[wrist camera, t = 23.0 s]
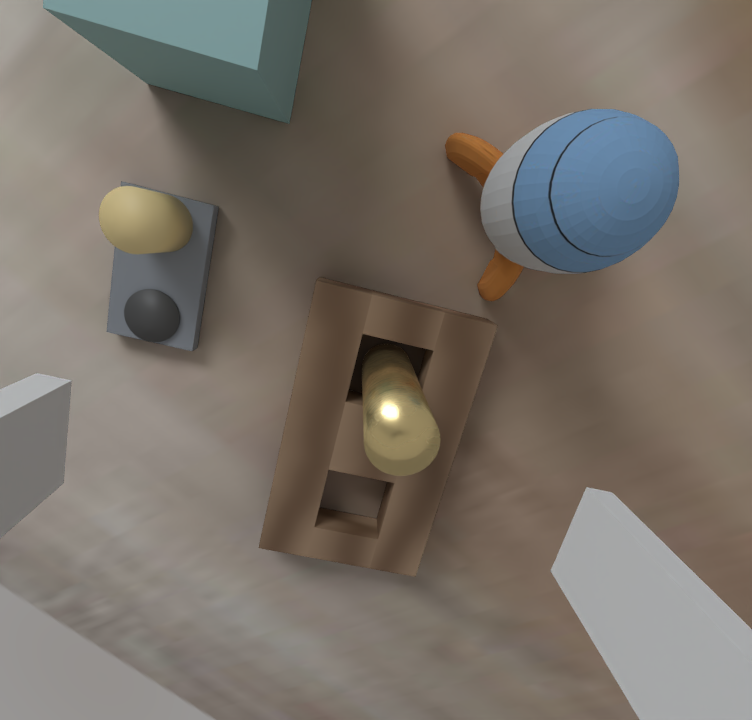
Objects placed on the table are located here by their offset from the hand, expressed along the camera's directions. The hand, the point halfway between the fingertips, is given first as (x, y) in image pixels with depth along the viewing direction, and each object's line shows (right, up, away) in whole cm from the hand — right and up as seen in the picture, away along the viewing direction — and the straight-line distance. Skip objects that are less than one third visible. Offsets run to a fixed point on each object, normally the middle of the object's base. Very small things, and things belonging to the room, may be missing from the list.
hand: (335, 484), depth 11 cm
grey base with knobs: (-13, +9, +18) cm, 24 cm away
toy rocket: (+9, +14, +18) cm, 24 cm away
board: (+1, -2, +22) cm, 22 cm away
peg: (+2, +3, +20) cm, 21 cm away
